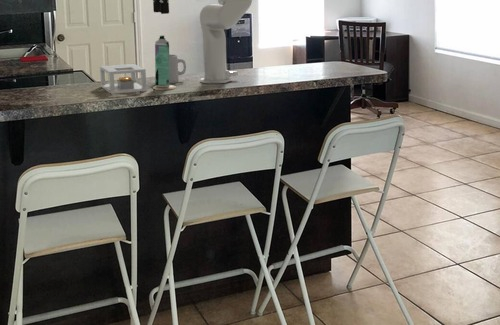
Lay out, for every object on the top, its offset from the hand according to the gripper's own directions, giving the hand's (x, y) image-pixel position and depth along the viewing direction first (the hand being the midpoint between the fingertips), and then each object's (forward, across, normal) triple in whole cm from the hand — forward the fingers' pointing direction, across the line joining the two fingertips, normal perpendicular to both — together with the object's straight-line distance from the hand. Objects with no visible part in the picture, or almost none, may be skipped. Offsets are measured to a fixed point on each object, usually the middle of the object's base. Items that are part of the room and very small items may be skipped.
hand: (161, 12), depth 269 cm
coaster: (+30, 0, 0) cm, 30 cm away
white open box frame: (+29, +6, +15) cm, 34 cm away
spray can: (+29, 0, +1) cm, 29 cm away
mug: (+30, +15, -8) cm, 34 cm away
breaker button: (+28, +2, +15) cm, 32 cm away
